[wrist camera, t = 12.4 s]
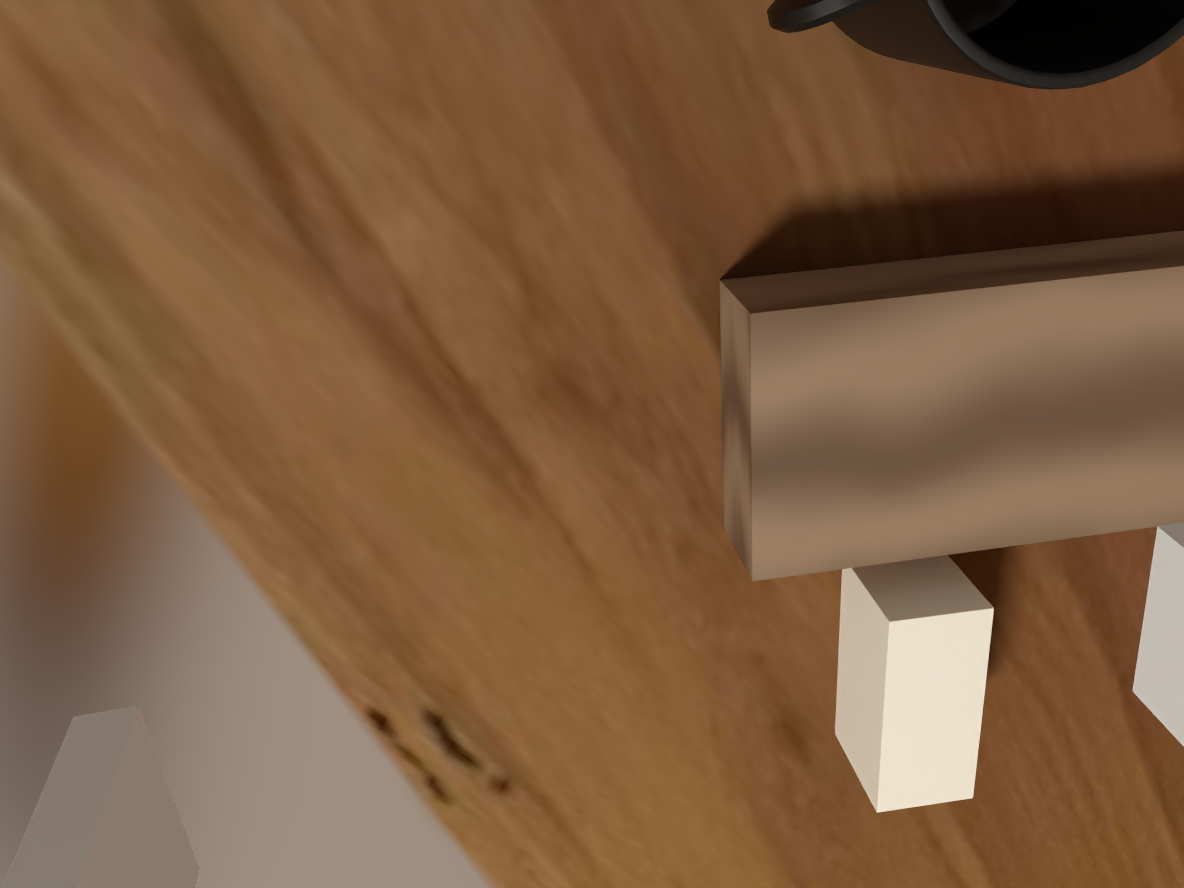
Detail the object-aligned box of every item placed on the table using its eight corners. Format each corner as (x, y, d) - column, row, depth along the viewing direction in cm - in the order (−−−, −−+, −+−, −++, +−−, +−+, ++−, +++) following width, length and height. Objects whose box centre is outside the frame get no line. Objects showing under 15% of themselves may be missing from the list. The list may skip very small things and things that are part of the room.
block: (889, 622, 40) (876, 818, 43) (993, 607, 40) (972, 803, 44) (841, 553, 44) (833, 737, 48) (936, 542, 45) (920, 724, 48)
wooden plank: (719, 280, 38) (750, 313, 35) (1245, 224, 40) (1326, 250, 37) (724, 528, 43) (752, 581, 39) (1201, 466, 45) (1270, 511, 41)
